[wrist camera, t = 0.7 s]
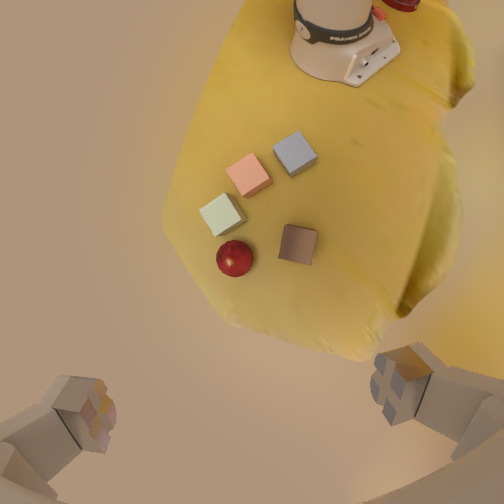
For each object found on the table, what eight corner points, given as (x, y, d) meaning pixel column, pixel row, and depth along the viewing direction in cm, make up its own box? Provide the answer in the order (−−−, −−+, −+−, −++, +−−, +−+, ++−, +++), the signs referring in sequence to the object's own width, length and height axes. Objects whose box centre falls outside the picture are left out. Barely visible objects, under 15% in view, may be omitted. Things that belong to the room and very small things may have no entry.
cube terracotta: (256, 158, 48) (252, 151, 43) (272, 182, 48) (269, 178, 43) (232, 174, 48) (225, 169, 44) (247, 198, 48) (242, 195, 44)
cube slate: (299, 139, 46) (298, 130, 41) (315, 162, 46) (317, 156, 41) (274, 154, 47) (271, 146, 42) (290, 177, 47) (289, 173, 42)
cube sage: (232, 195, 49) (224, 192, 44) (247, 219, 49) (241, 219, 44) (208, 211, 50) (198, 210, 45) (223, 235, 50) (215, 236, 45)
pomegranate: (217, 261, 50) (202, 268, 43) (232, 232, 49) (219, 235, 42) (245, 278, 50) (235, 289, 42) (262, 249, 49) (254, 255, 41)
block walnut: (314, 229, 47) (317, 231, 37) (308, 256, 48) (311, 264, 38) (287, 224, 48) (284, 225, 38) (282, 250, 48) (278, 258, 39)
